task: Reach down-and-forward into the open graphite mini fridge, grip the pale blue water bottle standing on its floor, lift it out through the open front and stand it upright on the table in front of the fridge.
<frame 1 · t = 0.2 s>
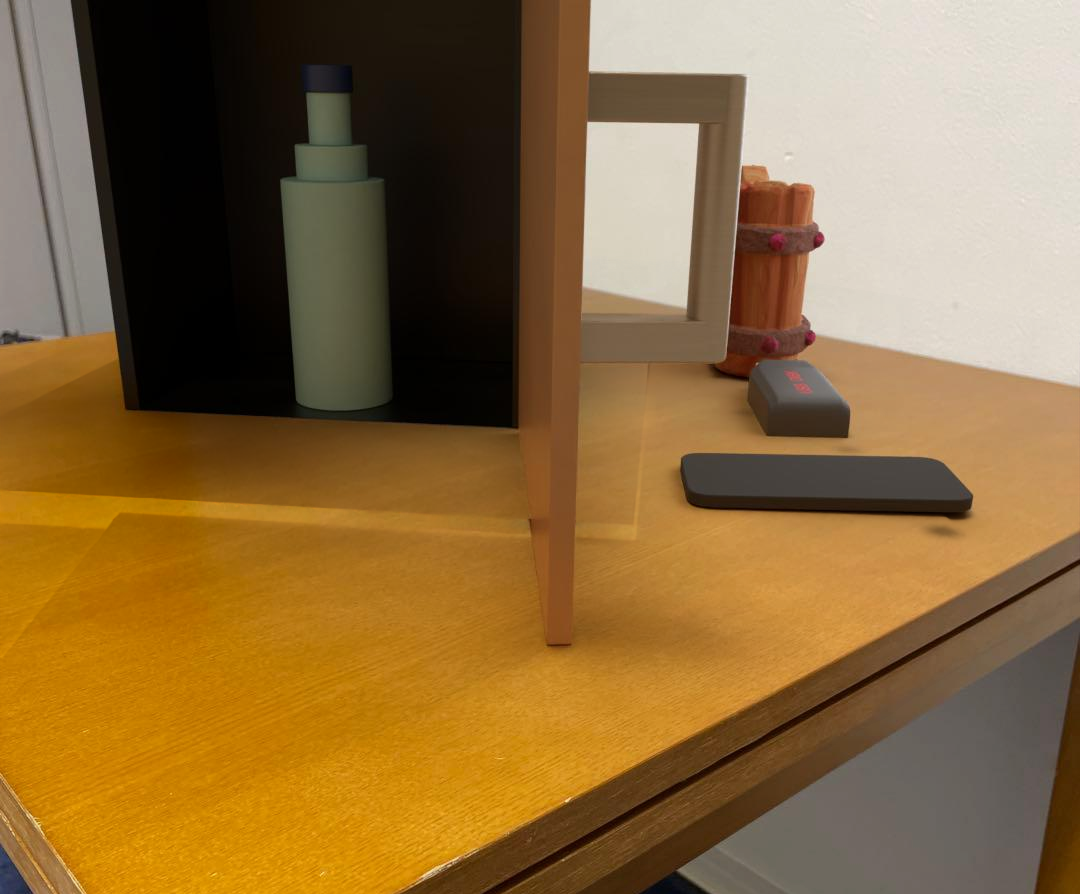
fridge: (361, 397, 77), on the table
bottle: (344, 398, 73), point 1 cm above the table, touching fridge
fridge door: (608, 195, 49), point 16 cm above the table, hinge at 100.0°
mug: (748, 367, 89), on the table
phone: (818, 491, 61), on the table
grey rounded block: (790, 415, 75), on the table
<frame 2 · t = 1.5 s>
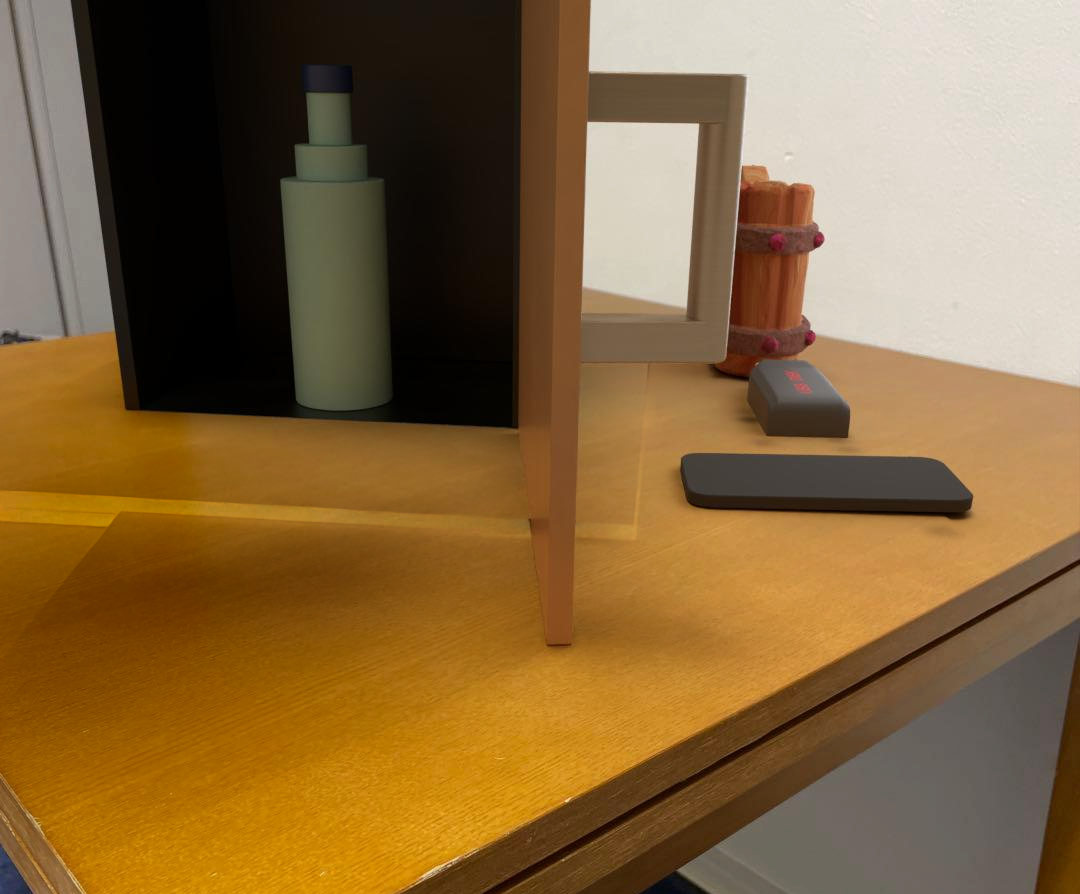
nothing on the table moved.
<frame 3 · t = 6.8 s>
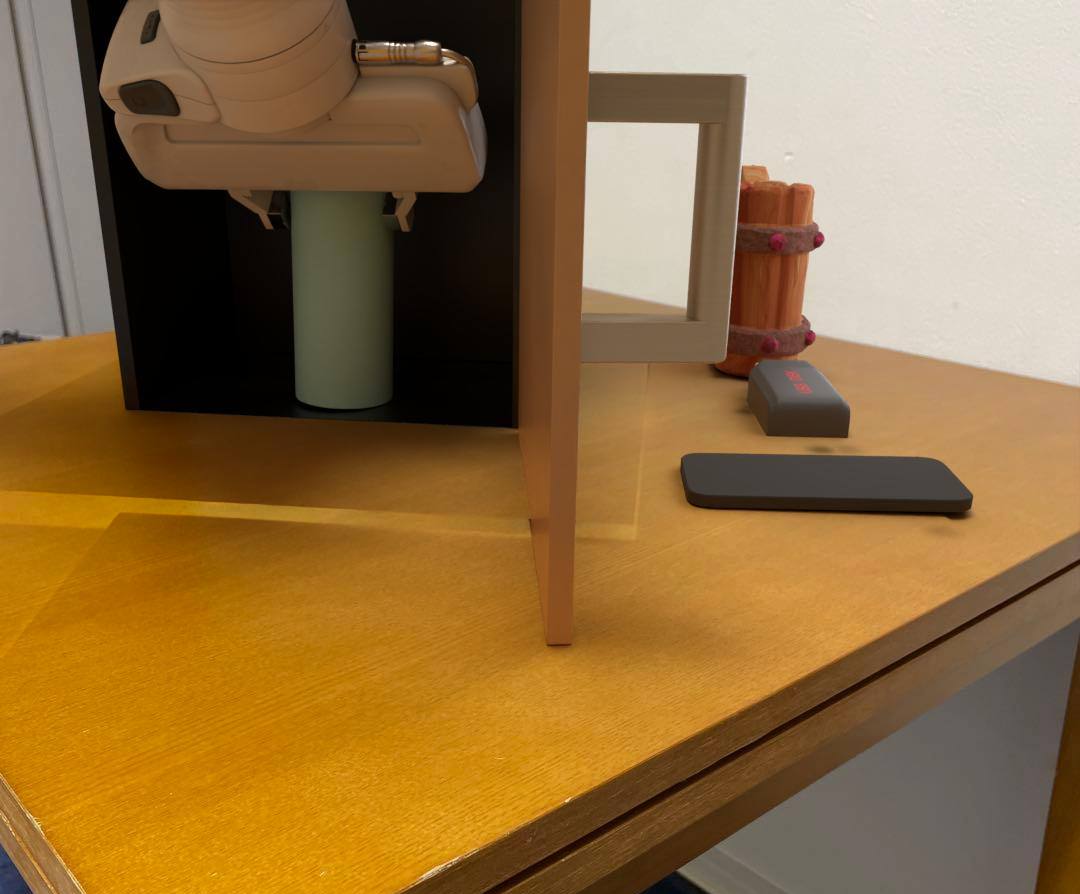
hand: (340, 222, 68), 12 cm above the table, tool tilted 45°, fingers closed on bottle, 6 cm apart
bottle: (344, 396, 73), point 1 cm above the table, touching fridge, gripper
everything else where it was.
when the fingers open (11 cm above the table, at t = 13.7 s): bottle stays where it is, on the table.
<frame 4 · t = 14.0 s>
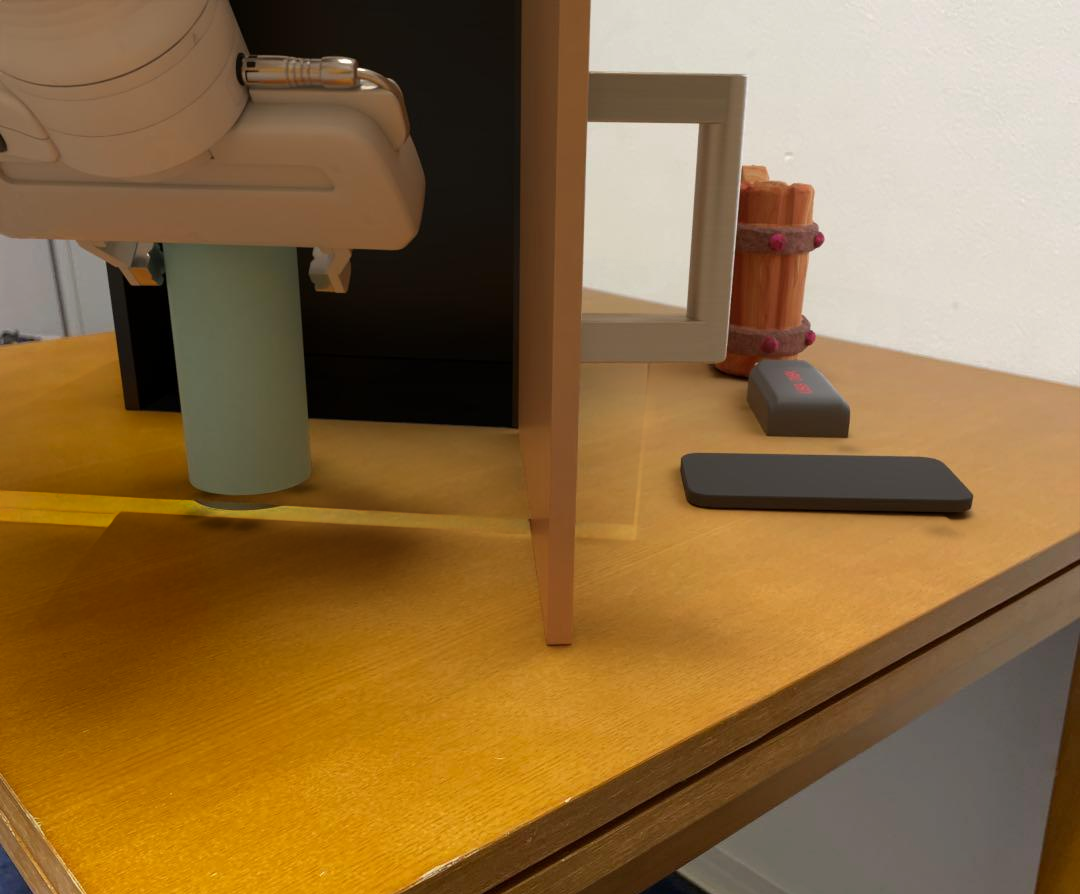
hand: (242, 278, 54), 11 cm above the table, tool tilted 45°, fingers open, 8 cm apart
bottle: (252, 491, 59), on the table
everything else where it was.
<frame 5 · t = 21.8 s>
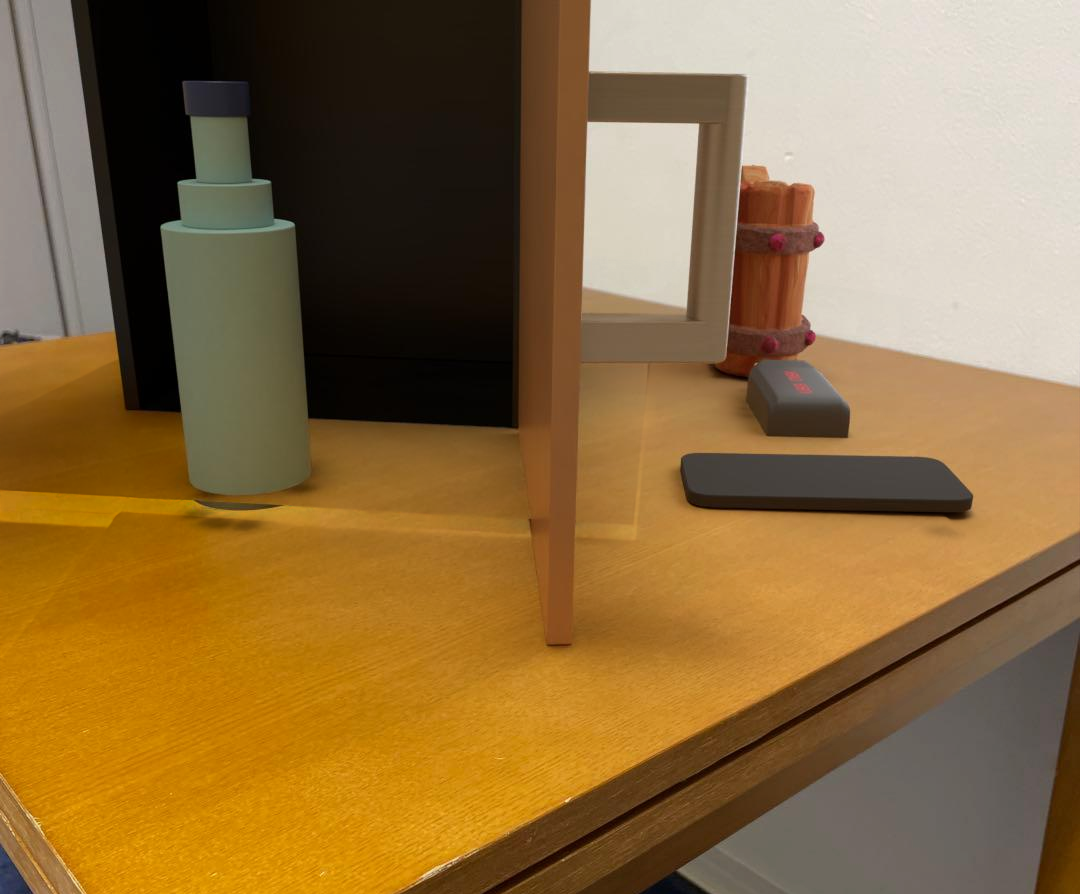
nothing on the table moved.
at the end: bottle inside the target area (1.4 cm from its centre), on the table; bottle tilted 0°; the gripper is holding nothing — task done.
